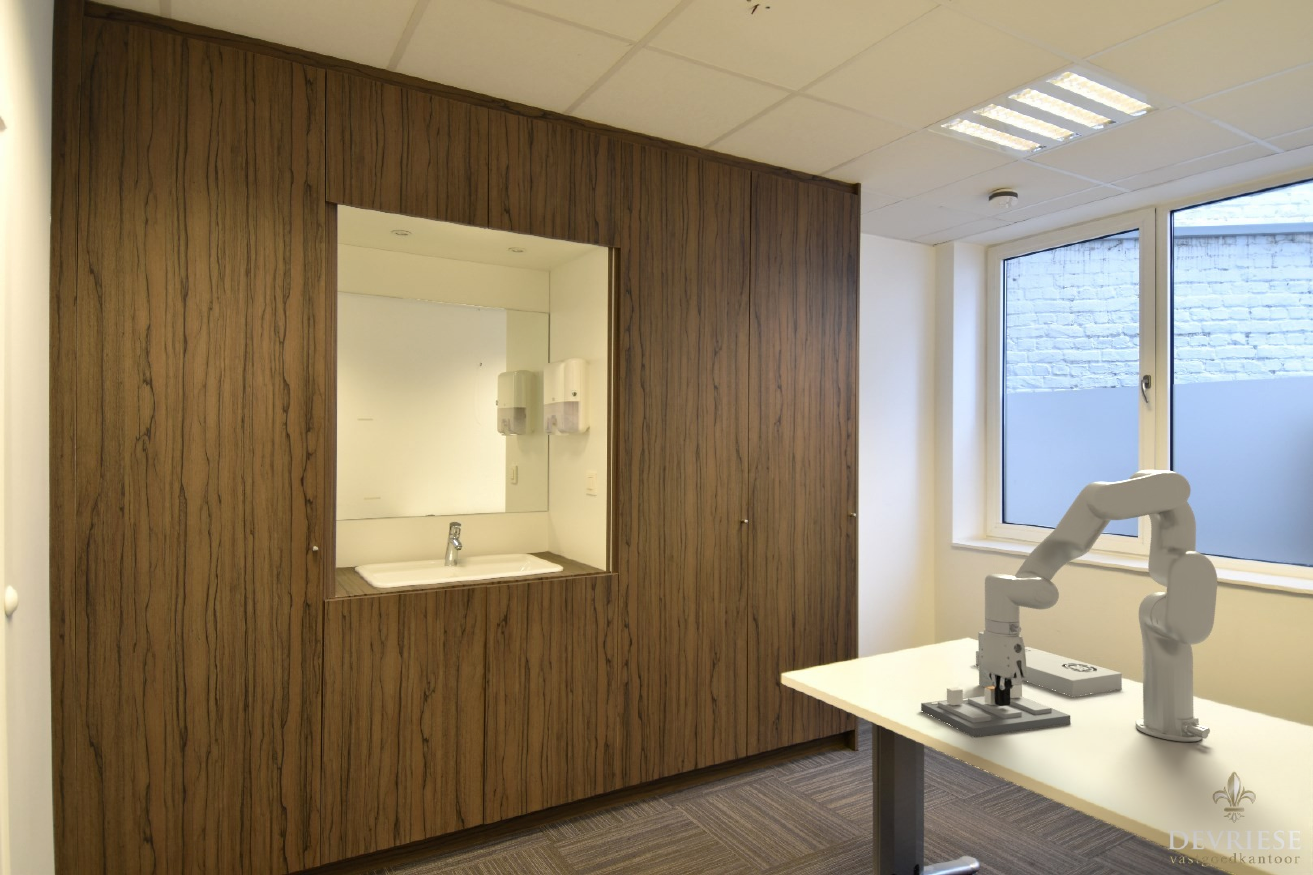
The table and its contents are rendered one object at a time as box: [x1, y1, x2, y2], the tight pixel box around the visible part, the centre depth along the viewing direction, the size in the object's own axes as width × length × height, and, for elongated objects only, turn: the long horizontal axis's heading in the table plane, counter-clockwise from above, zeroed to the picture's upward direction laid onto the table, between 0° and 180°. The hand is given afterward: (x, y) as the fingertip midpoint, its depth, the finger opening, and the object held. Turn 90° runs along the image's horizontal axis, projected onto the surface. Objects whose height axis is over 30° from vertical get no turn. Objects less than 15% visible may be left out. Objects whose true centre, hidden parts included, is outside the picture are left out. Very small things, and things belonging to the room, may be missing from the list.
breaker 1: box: [946, 686, 964, 705], centre depth 180 cm, size 2×3×4 cm, turn 109°
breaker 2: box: [1010, 684, 1023, 698], centre depth 186 cm, size 2×3×4 cm, turn 109°
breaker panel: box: [920, 695, 1071, 738], centre depth 180 cm, size 18×28×3 cm, turn 109°
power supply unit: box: [975, 645, 1123, 698], centre depth 215 cm, size 19×33×5 cm, turn 22°
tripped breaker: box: [984, 686, 995, 705], centre depth 181 cm, size 2×3×4 cm, turn 109°
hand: (1002, 704), depth 178 cm, fingers closed
